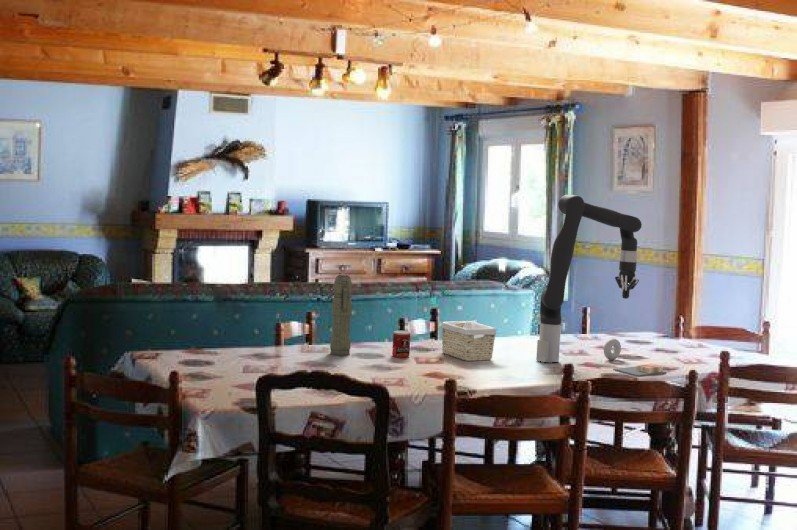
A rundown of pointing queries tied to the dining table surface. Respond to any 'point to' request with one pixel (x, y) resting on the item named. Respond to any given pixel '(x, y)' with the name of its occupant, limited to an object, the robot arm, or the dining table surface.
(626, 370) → the mat
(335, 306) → the grey-green tall rounded block
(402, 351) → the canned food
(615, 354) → the donut
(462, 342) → the storage basket
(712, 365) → the dining table surface
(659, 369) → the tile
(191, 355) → the dining table surface
